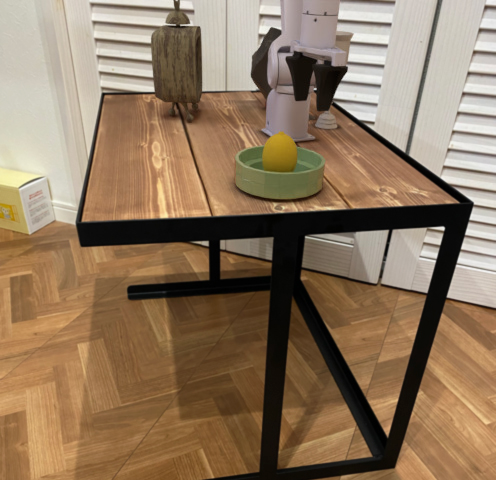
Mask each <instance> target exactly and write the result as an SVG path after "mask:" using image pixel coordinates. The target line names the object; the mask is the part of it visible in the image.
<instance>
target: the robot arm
mask: <svg viewBox="0 0 496 480" xmlns="http://www.w3.org/2000/svg"><path fill="white" fill-rule="evenodd" d="M279 3H280V26H281V29H280V30H281V31H282V35H280V36H279V37H278V38H277V39H276V40H274V41H273V42H272V44H271V46H270V48H269V52H268V67H267V76H268V83H269V85H270V86H271V88H273V89H272V90H271V92H270V93H269V95H268V98H267V107H266V109H265V110H266V111H265V127H264V128H261V132H262V133H264V134H266V135H267V136H269V137H271V136H273V135H275V134H277V133H279V132H280V131H283V132H284V133H285V134H287V135H288V136H290V137H291V138H292V139H293V141H294V142H295V143H296V142H305V141H314V140H316V136H315V135H312V134H311V133H309V132H308V129H309V120H310V119H309V114H310V109H311V99H312V93H315V95H316V96H315V106H316V108H315V109H316V112H321V113H322V112H325V111H329V109H330V110H331V107H330V106H332V104H333V103H332V102H333V100H334V97H335V95H336V92H337V90H338V88H339V85H340V84H341V82H342V80H343V78H344V77H345V76H346V74H347V73H348V71H349V66H347V65H346V66H345V63H346V55H347V52H344V51H342V50H340V49H339V48H337V47H336V46H335V40H336V31H338V22H339V13H340V4H341V0H279ZM322 61H323V62H324V64H322ZM315 91H316V92H315ZM331 103H332V104H331Z"/></svg>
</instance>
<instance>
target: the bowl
mask: <svg viewBox="0 0 496 480" xmlns="http://www.w3.org/2000/svg"><path fill="white" fill-rule="evenodd" d="M264 146H265V144H262V145H261V144H260V145H253V146H250V147H249V146H248V147H245V148H243V149H241V150H239V151H238V152H237V153H236V154H235V156H234V183H235V186H236V187H237V188H238V189H239V190H241V191H242V192H245V193H247V194H250V195H252V196H255V197H260V198H265V199H271V200H295V199H301V198H307V197H309V196H310V197H311V196H312V195H315V194H317V193H319V192H320V191H321V190H322V189H323V184H324V177H325V169H326V158H325V157H324V156H323V155H322V154H320V153H318V152H317V151H316V150H315V151H314V150H312V149H308V148H306V147H301V146H296V148H297V163H296V167H295V170H294V171H293V172H285V173H280V172H269V171H265V170H264V168H263V163H262V154H263V149H264Z"/></svg>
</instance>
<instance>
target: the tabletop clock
mask: <svg viewBox="0 0 496 480" xmlns="http://www.w3.org/2000/svg"><path fill="white" fill-rule="evenodd" d="M180 6H181V0H173V7H174V10H173V11H170V12H169V13H168V14H167V16H166V18H165V21H164V23H165V24H164V25H162V26H160V27H158V28H156V29H155V30H154V31H153V32H152V33H151V36H150V50H151V51H150V53H151V54H150V55H151V66H152V78H153V89H154V90H153V91H154V97H155V98H157V99H159V100H160V101H162V102H163V103H171V107H170V108H169V109H168V115H169V116H171V117H174V116H175V115H176V109H175V106H176V104H178V103H179V104H180V105H181V106H182V107H183V109H184V110H185V113H186V116H185V121H187V123H192V122H193V121H194V118H195V117H194V116H193V115H192V114H191V113H190V110H189V107H188V104H191V109H192V110H193V111H197V110H199V103H200V102H201V100H202V99H201V98H202V95H203V49H202V47H203V45H202V28H201V26H200V25H190V24H191V21H190V18H189V16H188V15H187V14H186V12H183V11H181V8H180Z"/></svg>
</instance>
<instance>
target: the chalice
mask: <svg viewBox="0 0 496 480" xmlns="http://www.w3.org/2000/svg"><path fill="white" fill-rule="evenodd" d="M354 35H355V34H354V33H353V32H350V31H344V30H337V31H336V40H335V46H336V47H337V48H339V49H340V50H342V51H344V52H347V55H346V63H345V66H347V64H348V61H349V55H350V49H351V47H350V46H351V41H352V38H353V36H354ZM322 64H324V62H323V61H322ZM333 103H334V102H333V101H332V103H331V106H332V105H333ZM331 106H330V109H329V111H323V113H320V114H319V116H318V118H317V119H316V122H315V124H314V127H316V128H319V129H324V130H335V129H337V128H338V124H337V120H336V116H335V115H334V114H333V113H332V112H331Z"/></svg>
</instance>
